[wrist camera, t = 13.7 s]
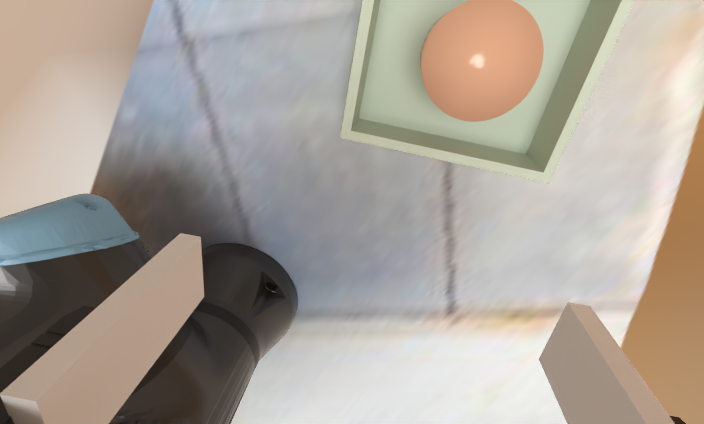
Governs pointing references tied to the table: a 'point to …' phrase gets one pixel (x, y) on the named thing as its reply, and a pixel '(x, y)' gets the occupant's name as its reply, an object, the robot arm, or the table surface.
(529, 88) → the peach rounded cylinder
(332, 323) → the table surface
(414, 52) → the caddy
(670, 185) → the table surface
